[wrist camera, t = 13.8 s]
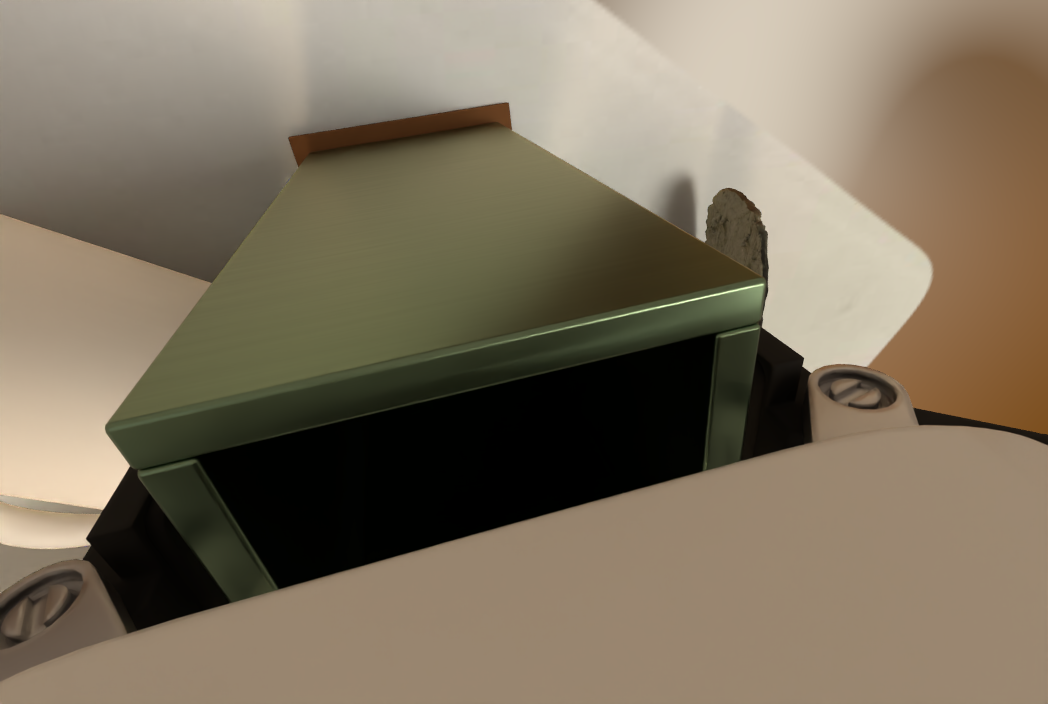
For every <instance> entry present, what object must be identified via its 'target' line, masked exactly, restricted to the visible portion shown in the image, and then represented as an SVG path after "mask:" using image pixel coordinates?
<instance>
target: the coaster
mask: <svg viewBox="0 0 1048 704" xmlns="http://www.w3.org/2000/svg"><path fill="white" fill-rule="evenodd" d="M494 122H498V123H500V124H502V125H504V126H505V127H507V128H509V129H510V130H512V127H511V119H510V110H509V103H501V104H495V105H489V106H482V107H476V108H470V109H463V110H457V111H451V112H444V113H438V114H431V115H425V116H419V117H412V118H406V119H400V120H393V121H387V122H381V123H374V124H368V125H362V126H355V127H349V128H343V129H336V130H330V131H323V132H317V133H311V134H304V135H298V136H292V137H289V141H290V144H291V147H292V150H293V153H294V156H295V159H296V162H297V165H298V167H299V166H300V165H301V163H302V162H303V161H304V159H305V158H306V157H307V155H308V154H309V153H310V152H315V151H321V150H328V149H334V148H340V147H346V146H352V145H358V144H365V143H371V142H377V141H383V140H389V139H395V138H401V137H408V136H414V135H420V134H426V133H432V132H438V131H445V130H451V129H457V128H463V127H469V126H475V125H481V124H488V123H494Z"/></svg>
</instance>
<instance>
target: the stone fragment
mask: <svg viewBox="0 0 1048 704" xmlns="http://www.w3.org/2000/svg"><path fill="white" fill-rule="evenodd" d="M712 202H713V204H712V205H710V206H709V207H708V219H707V220H706V224H707V230H706V231H705V233H706V239H707V240H706V241H705V243H706V244H707V245H709V246H711V247H713V248H714V249H716V250H718V251H719V252H721V253H723V254H725V255H726V256H728V257H730V258H731V259H733V260H735V261H737V262H738V263H740V264H742V265H743V266H745V267H747V268H749V269H750V270H752V271H754V272H755V273H757V274H759V275H761V276H762V277H764V278H765V280H766V283H767V284H766V291H765V298H764V305H763V311H764V307H765V300H766V297H767V294H768V269H769V267H768V258H767V238H768V233H767V231H765V226H763V224H762V221H761V219H760V217H761V214H760V213H761V212H760V210H759V209H757V208H756V207H755V205H754V203H753V202H752V201H750V200H748V199H747V197H746V196H745V195H744V194H743V193H741V192H739V191H737V190H735V189H732V188H726V189H722V190H721V191H719V192H718V193H717V195H716V196H714V197H713V201H712ZM763 311H762V316H763ZM758 323H759V325H760V327H762V323H763V317H762V318H761V320H760V321H759V322H758Z"/></svg>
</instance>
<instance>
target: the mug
mask: <svg viewBox="0 0 1048 704" xmlns="http://www.w3.org/2000/svg"><path fill="white" fill-rule="evenodd" d="M210 285H211V283H210V282H207V281H204V280H201V279H198V278H194V277H191V276H188V275H185V274H182V273H179V272H176V271H173V270H170V269H167V268H164V267H161V266H158V265H155V264H152V263H149V262H146V261H143V260H139V259H136V258H133V257H130V256H127V255H124V254H121V253H118V252H115V251H112V250H109V249H106V248H103V247H100V246H97V245H94V244H91V243H87V242H84V241H81V240H78V239H75V238H72V237H69V236H66V235H63V234H60V233H57V232H54V231H51V230H48V229H45V228H42V227H39V226H36V225H32V224H29V223H26V222H23V221H20V220H17V219H14V218H11V217H8V216H5V215H2V214H0V495H7V496H13V497H20V498H27V499H34V500H41V501H48V502H54V503H61V504H68V505H75V506H82V507H89V508H95V509H102V510H104V508H105V506H106V505H107V503H108V501H109V500H110V498H111V496H112V495H113V493H114V492H115V490H116V488H117V487H118V485H119V483H120V482H121V480H122V479H123V477H124V475H125V474H126V472H127V470H128V469H129V467H130V465H129V464H128V462H127V461H126V460H125V458H124V457H123V456H122V454H121V453H120V451H119V450H118V449H117V447H116V446H115V445H114V443H113V442H112V441H111V439H110V438H109V436H108V435H107V434H106V431H105V425H106V423H107V422H108V421H109V419H110V418H111V417H112V415H113V414H114V413H115V411H116V410H117V409H118V407H119V406H120V405H121V403H122V402H123V401H124V399H125V398H126V397H127V395H128V394H129V393H130V391H131V390H132V389H133V387H134V386H135V385H136V383H137V382H138V381H139V379H140V378H141V377H142V375H143V374H144V373H145V371H146V370H147V369H148V367H149V366H150V365H151V363H152V362H153V361H154V359H155V358H156V357H157V355H158V354H159V353H160V351H161V350H162V349H163V347H164V346H165V345H166V343H167V342H168V341H169V339H170V338H171V337H172V335H173V334H174V333H175V331H176V330H177V329H178V327H179V326H180V325H181V323H182V322H183V321H184V319H185V318H186V317H187V315H188V314H189V313H190V311H191V310H192V309H193V307H194V306H195V305H196V303H197V302H198V301H199V299H200V298H201V297H202V295H203V294H204V293H205V291H206V290H207V289H208V287H209V286H210ZM99 516H100V514H74V513H60V512H50V511H41V510H34V509H28V508H23V507H18V506H14V505H10V504H7V503H4V502H2V501H0V543H1V544H5V545H10V546H15V547H22V548H32V549H63V548H74V547H82V546H88V545H91V544H90V543H89V542H88V541H87V540H86V537H87V536H88V534H89V532H90V531H91V529H92V527H93V526H94V524H95V523H96V521H97V519H98V518H99Z"/></svg>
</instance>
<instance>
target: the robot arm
mask: <svg viewBox="0 0 1048 704" xmlns="http://www.w3.org/2000/svg"><path fill="white" fill-rule="evenodd" d="M760 328H761V329H760V335H759V342H758V348H757V355H756V362H755V368H754V375H753V382H752V388H751V395H750V402H749V408H748V415H747V422H746V428H745V435H744V442H743V448H742V455H741V461H740V462H736V463H732V464H729V465H725V466H721V467H717V468H714V469H710V470H706V471H703V472H699V473H695V474H692V475H688V476H684V477H681V478H677V479H673V480H670V481H666V482H662V483H659V484H655V485H651V486H648V487H644V488H640V489H637V490H633V491H630V492H626V493H622V494H619V495H615V496H611V497H608V498H604V499H600V500H597V501H593V502H589V503H586V504H582V505H579V506H575V507H571V508H568V509H564V510H560V511H557V512H553V513H550V514H546V515H542V516H539V517H535V518H532V519H528V520H524V521H521V522H517V523H514V524H510V525H506V526H503V527H499V528H496V529H492V530H488V531H485V532H481V533H478V534H474V535H471V536H467V537H463V538H460V539H456V540H453V541H449V542H445V543H442V544H438V545H435V546H431V547H428V548H424V549H420V550H417V551H413V552H410V553H406V554H403V555H399V556H396V557H392V558H388V559H385V560H381V561H378V562H374V563H371V564H367V565H364V566H360V567H357V568H353V569H350V570H346V571H343V572H339V573H335V574H332V575H328V576H325V577H321V578H318V579H314V580H311V581H307V582H304V583H300V584H297V585H293V586H290V587H286V588H283V589H279V590H276V591H272V592H268V593H265V594H261V595H258V596H254V597H251V598H247V599H244V600H240V601H237V602H233V603H230V602H229V601H228V599H227V598H226V597H225V595H224V594H223V593H222V591H221V590H220V588H219V587H218V586H217V584H216V583H215V582H214V580H213V579H212V578H211V576H210V575H209V573H208V572H207V571H206V569H205V568H204V567H203V565H202V564H201V563H200V561H199V560H198V558H197V557H196V556H195V554H194V553H193V552H192V550H191V549H190V547H189V546H188V545H187V543H186V542H185V541H184V539H183V538H182V537H181V535H180V534H179V532H178V531H177V530H176V528H175V527H174V526H173V524H172V523H171V522H170V520H169V519H168V517H167V516H166V515H165V513H164V512H163V511H162V509H161V508H160V507H159V505H158V504H157V502H156V501H155V500H154V498H153V497H152V496H151V494H150V493H149V491H148V490H147V489H146V487H145V486H144V485H143V483H142V482H141V481H140V479H139V478H138V469H133V468H132V467H129V469H128V470H127V472H126V474H125V475H124V477H123V479H122V480H121V482H120V483H119V485H118V487H117V488H116V490H115V492H114V493H113V495H112V496H111V498H110V500H109V501H108V503H107V505H106V506H105V508H104V510H103V511H102V513H101V514H100V516H99V518H98V519H97V521H96V523H95V524H94V526H93V527H92V529H91V531H90V532H89V534H88V536H87V537H86V540H87V541H88V542H89V543H90V544H91V547H90V548H89V550H88V552H87V553H86V555H85V557H84V558H83V560H79V559H74V560H67V561H61V562H58V563H55V564H52V565H50V566H47V567H44V568H42V569H40V570H38V571H36V572H34V573H32V574H30V575H28V576H26V577H24V578H23V579H21V580H20V581H18V582H17V583H15V584H14V585H12V586H11V587H9V588H8V589H6V590H5V591H4V592H2V593H1V594H0V704H1048V435H1047V434H1040V433H1036V432H1031V431H1026V430H1021V429H1016V428H1011V427H1006V426H1001V425H996V424H991V423H986V422H981V421H976V420H971V419H966V418H961V417H956V416H951V415H946V414H941V413H936V412H931V411H926V410H921V409H916V408H913V407H912V404H911V401H910V398H909V395H908V393H907V391H906V390H905V389H904V387H903V386H902V385H901V384H900V383H899V382H897V381H896V380H895V379H894V378H892V377H890V376H888V375H886V374H884V373H882V372H880V371H876V370H873V369H870V368H867V367H862V366H856V365H847V364H835V365H828V366H824V367H821V368H819V369H816V370H815V371H814V372H813V373H810V372H809V371H808V370H806V369H805V368H804V367H802V365H803V361H804V358H803V357H802V356H801V355H799V354H798V353H796V352H795V351H794V350H792V349H791V348H789V347H788V346H787V345H785V344H784V343H783V342H781V341H780V340H778V339H777V338H776V337H774V336H773V335H771V334H770V333H769V332H767V331H766V330H764V329H763V328H762V327H760Z"/></svg>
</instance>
